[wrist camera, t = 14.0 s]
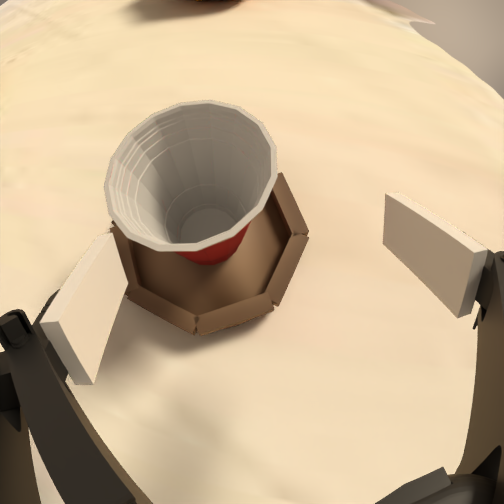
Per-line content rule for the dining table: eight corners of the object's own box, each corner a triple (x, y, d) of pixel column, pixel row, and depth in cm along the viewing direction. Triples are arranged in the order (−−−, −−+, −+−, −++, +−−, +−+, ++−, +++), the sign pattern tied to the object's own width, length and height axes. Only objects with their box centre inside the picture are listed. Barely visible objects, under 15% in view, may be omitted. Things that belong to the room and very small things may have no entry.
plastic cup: (147, 195, 30) (104, 116, 19) (254, 176, 31) (258, 87, 20) (155, 303, 27) (97, 265, 16) (277, 283, 28) (299, 230, 16)
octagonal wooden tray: (261, 146, 34) (262, 125, 30) (325, 292, 29) (335, 284, 25) (111, 195, 32) (99, 178, 28) (148, 353, 27) (135, 352, 23)
